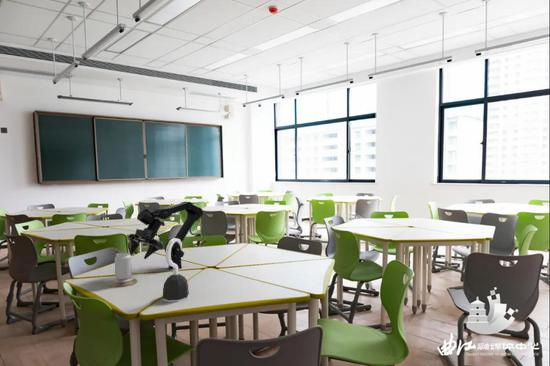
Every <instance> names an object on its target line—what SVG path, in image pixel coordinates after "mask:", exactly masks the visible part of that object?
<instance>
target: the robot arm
mask: <svg viewBox="0 0 550 366" xmlns="http://www.w3.org/2000/svg"><path fill="white" fill-rule="evenodd" d="M184 210H185V212H186V219H185V221H184V223H183V224H182V225H181V227H180V229H179V230H178V232H177V234H176V235H175V237H174V238H177V239H180V241H181V242H182V243H183V241H184V240H185V238H186V236H187V235H188V233H189V231H191V229H192V227H193V225H194V224H195V222H197V221H199V220H200V219H201V218H202V217H203V215H204V211H203V209H202V208H201V207H199V206H198V205H196V204H194V203H192V202H190V201H183V202H180V203H178V204H174V205H172V206H169V207H168V206H167V207H157V208H155V209H154V211H149V210H148V209H147V208H144V209H143V210H141V211H140V212H139V213H138V214H137V215H136V216H137V217H136V220H137V221H139V222H141V223H142V224H143V225H146V226H147V227H144V228H143V229H139V228H136V230H135V233H129V235H128V240H129V242H130V250H129V253H130V255H131V256H132V255H133V254H134V253H135V252H136V250H137V249H138V248H139V246H140V243H144V244H147V245H148V249H147V250H146V253H145V254H144V257H143V259H144V260H146V259H148V258H149V257H150V256H152V255H153V254H154V253H156V252H158V251H160V250H163V249H164V253H165V254H166V247H167V245H168V243H169V241H170V240H172V239H173V238H172V239H171V238H169V239H168V240H167V242H166V244H163V243H162V242H161V241H159V240H157V239H155V237H157V236H158V232H159V230H160V228H161V227H165V226H166V224H165V221H164V220H166V219H168V218H170V217H172V215H174V214H176V213H179V212H182V211H184ZM163 247H164V248H163ZM184 255H185V252H184V251H183V249H182V250H181V247H180V245H179V243H178V242H177V241H176V242H175V243H174V244H173V246H172V248H171V260H172V261H173V263H175V264H177V265H178V269H182V258H183V257H184ZM168 268H169V270H173V267H172V266H169V265H168Z"/></svg>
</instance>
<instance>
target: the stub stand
mask: <svg viewBox="0 0 550 366" xmlns="http://www.w3.org/2000/svg"><path fill="white" fill-rule="evenodd" d="M137 283H138V279H137V278H133V275H132V276H131V277H130V278H129V279H125V280H118V279H116V278H115V277H114V280H112V281H110V282H109V286H110V287H113V288H124V287H130V286H132V285H133V286H134V285H135V284H137Z"/></svg>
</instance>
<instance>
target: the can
mask: <svg viewBox="0 0 550 366" xmlns="http://www.w3.org/2000/svg"><path fill="white" fill-rule="evenodd" d="M132 259H133V257H132V255H130V252H126V251H125V252H118V253H116V254H115V257H114V276H115V277H114V279H115V278H116V279H118V280H125V279H129V278H130V277H131V276H132V277H133V260H132Z"/></svg>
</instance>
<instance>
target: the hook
mask: <svg viewBox="0 0 550 366" xmlns="http://www.w3.org/2000/svg"><path fill="white" fill-rule="evenodd" d="M176 241H177V242H178V243H179V245H180V247H181V250H182V251H183V241H182V242H181V241H180V239H177V238H175V237H173V238H172V240H170V241H169V243H168V245H167V247H166V253H165V254H164V256H165V262H166V264H167V265H168V267H169V266H172V267H173V269H172V270H173V272H172V273H173V274H171V275H169V276H167V278H166V280H165V281H164V283H163V288H162V301H165V302H169V303H171V302H173V303H174V302H181V301H184V300H186V299H188V298H189V296H190V295H189V294H190V291H189V283H188V279H187V278H186V277H185V276H184V275H182V274H179V268H178V265H177V264H175V263H173V261H172V260H171V248H172V246H173V244H174V243H175V242H176Z"/></svg>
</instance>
